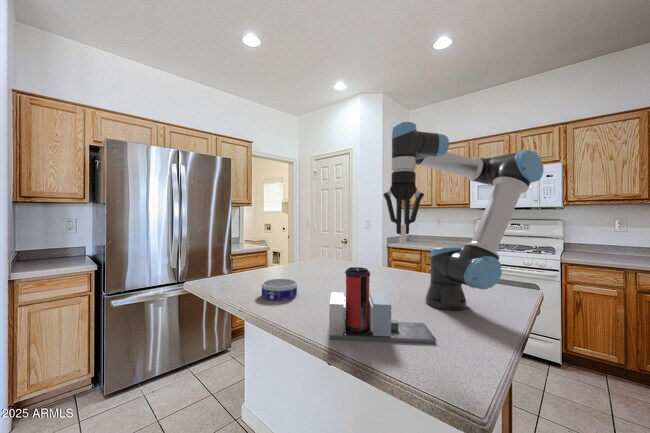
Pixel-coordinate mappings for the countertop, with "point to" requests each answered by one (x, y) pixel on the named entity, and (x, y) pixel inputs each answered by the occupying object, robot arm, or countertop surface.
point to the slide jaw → (381, 315)
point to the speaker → (357, 299)
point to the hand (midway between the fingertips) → (402, 244)
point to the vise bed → (393, 334)
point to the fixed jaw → (337, 314)
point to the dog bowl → (279, 289)
